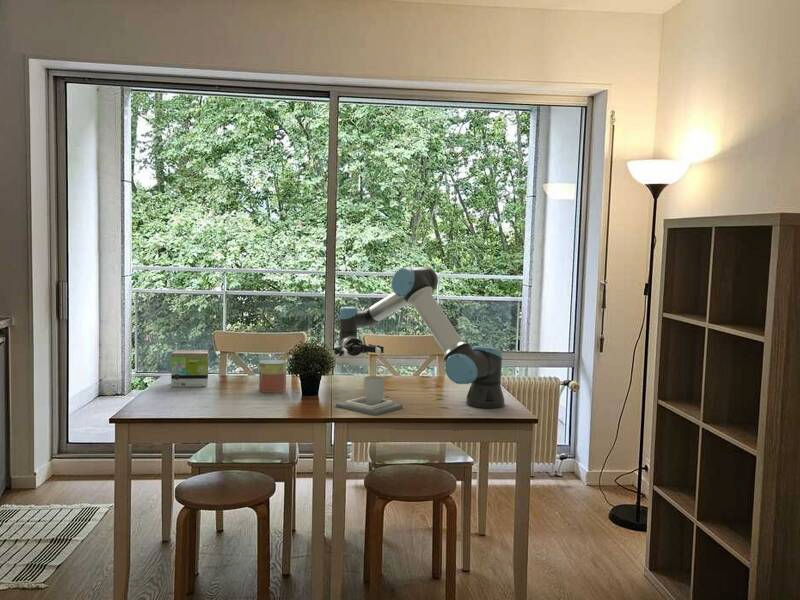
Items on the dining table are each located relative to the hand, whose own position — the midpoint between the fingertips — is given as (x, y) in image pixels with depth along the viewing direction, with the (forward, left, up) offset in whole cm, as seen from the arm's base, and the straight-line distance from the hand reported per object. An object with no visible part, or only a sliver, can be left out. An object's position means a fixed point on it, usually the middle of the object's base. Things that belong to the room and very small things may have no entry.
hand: (363, 353), depth 294 cm
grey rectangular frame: (-8, +6, -19) cm, 22 cm away
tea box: (+74, +28, -20) cm, 81 cm away
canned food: (+42, +10, -20) cm, 47 cm away
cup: (-9, +4, -18) cm, 21 cm away
